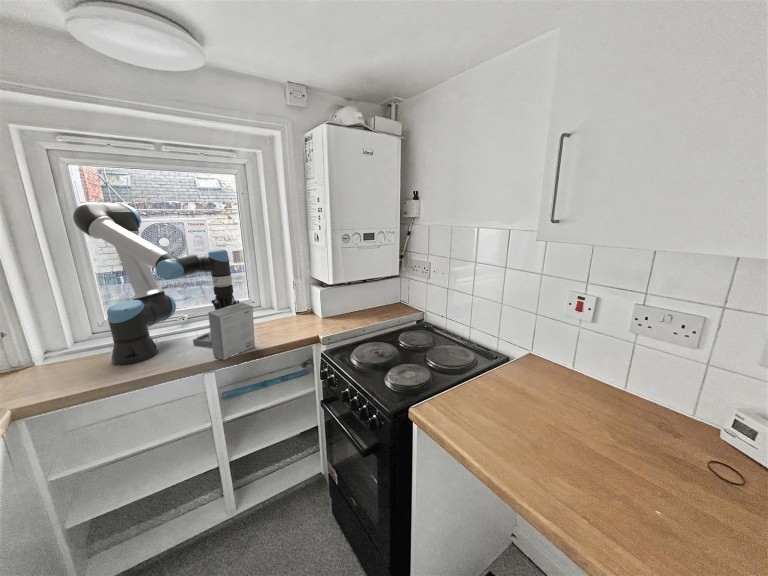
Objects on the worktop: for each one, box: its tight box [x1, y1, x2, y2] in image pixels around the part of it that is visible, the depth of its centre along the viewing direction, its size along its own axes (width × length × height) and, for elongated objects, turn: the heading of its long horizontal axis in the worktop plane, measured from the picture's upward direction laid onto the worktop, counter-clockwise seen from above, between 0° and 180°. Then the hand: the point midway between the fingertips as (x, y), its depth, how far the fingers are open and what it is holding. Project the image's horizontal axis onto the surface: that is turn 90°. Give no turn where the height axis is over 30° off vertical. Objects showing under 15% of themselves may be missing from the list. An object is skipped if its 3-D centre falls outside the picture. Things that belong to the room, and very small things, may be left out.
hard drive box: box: [208, 302, 256, 361], centre depth 127 cm, size 16×8×20 cm, turn 149°
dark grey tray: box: [192, 332, 212, 348], centre depth 145 cm, size 13×20×3 cm, turn 166°
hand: (230, 335), depth 136 cm, fingers closed
